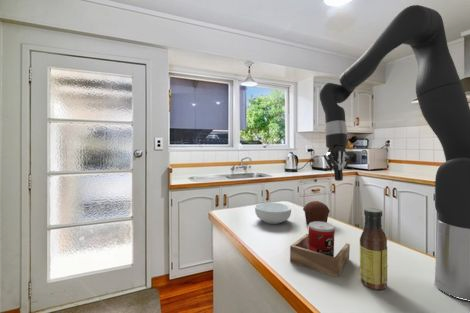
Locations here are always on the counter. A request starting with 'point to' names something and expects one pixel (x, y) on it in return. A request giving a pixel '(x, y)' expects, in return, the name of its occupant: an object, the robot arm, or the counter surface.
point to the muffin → (316, 212)
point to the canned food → (321, 238)
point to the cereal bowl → (273, 212)
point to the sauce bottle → (373, 251)
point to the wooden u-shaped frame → (318, 258)
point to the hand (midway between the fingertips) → (338, 180)
